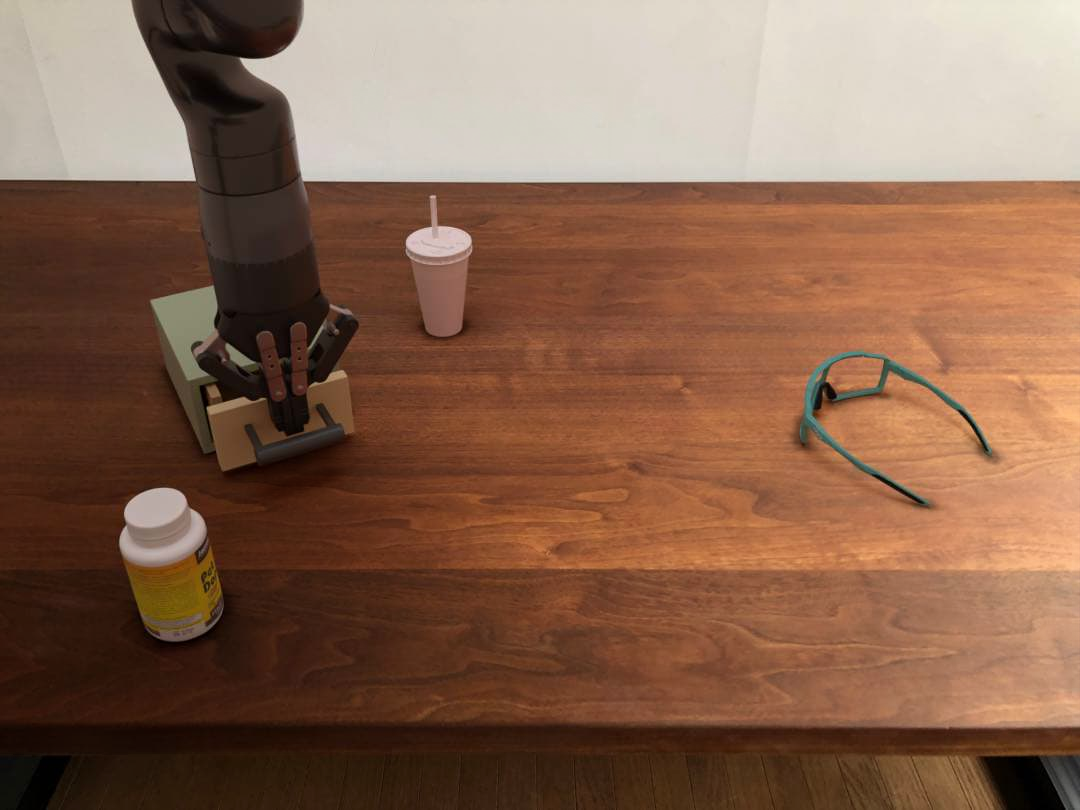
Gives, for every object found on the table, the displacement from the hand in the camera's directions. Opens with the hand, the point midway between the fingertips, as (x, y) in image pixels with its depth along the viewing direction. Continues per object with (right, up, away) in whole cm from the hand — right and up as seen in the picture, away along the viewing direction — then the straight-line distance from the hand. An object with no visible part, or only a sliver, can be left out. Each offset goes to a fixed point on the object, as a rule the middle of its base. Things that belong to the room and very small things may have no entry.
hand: (292, 428), depth 85 cm
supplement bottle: (-5, -13, -10) cm, 17 cm away
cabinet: (-6, +3, +12) cm, 14 cm away
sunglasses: (+50, -1, +6) cm, 50 cm away
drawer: (-3, 0, +7) cm, 7 cm away
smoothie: (+10, +10, +21) cm, 26 cm away
